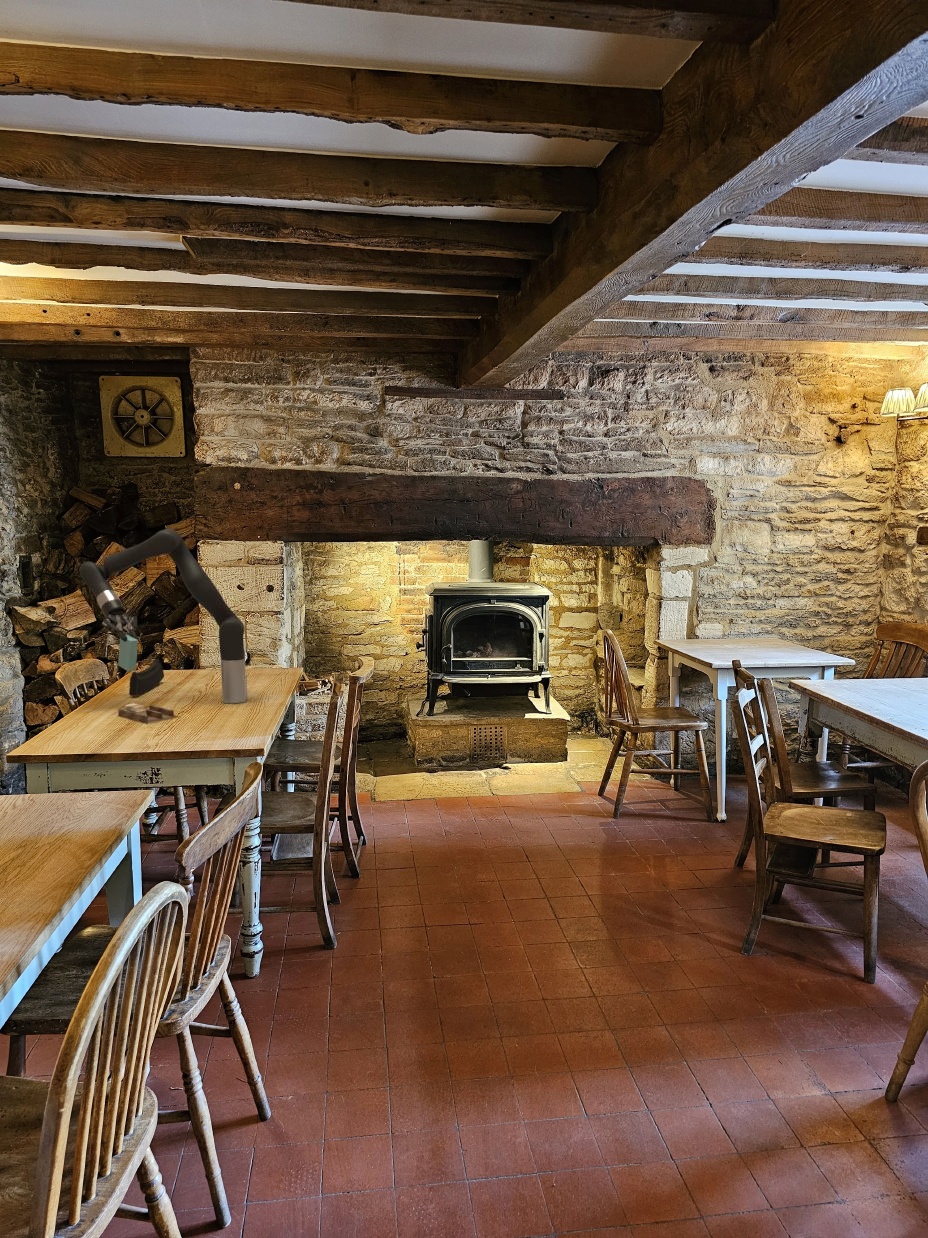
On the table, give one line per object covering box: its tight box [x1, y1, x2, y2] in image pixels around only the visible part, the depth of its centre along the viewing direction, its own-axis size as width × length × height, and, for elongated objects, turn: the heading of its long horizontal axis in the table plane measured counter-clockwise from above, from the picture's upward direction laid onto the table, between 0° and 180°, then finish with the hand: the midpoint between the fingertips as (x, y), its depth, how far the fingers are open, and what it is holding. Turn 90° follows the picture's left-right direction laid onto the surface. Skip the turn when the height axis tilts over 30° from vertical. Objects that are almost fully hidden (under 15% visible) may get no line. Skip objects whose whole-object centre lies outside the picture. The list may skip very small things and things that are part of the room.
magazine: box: [128, 659, 165, 697], centre depth 342 cm, size 17×3×30 cm
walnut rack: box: [116, 704, 181, 725], centre depth 294 cm, size 20×13×4 cm, turn 53°
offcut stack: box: [125, 703, 147, 716], centre depth 293 cm, size 8×4×4 cm, turn 53°
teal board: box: [117, 634, 139, 672], centre depth 303 cm, size 7×3×12 cm, turn 53°
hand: (130, 639), depth 302 cm, fingers closed on teal board, 3 cm apart
